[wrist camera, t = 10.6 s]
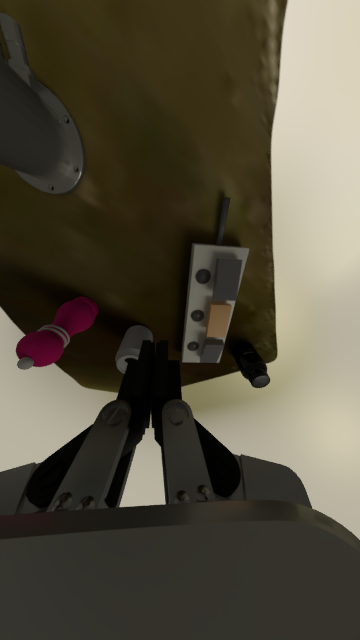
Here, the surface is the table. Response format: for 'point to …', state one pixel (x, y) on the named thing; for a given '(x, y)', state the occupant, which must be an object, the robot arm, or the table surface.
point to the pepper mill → (56, 333)
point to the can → (131, 345)
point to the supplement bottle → (251, 365)
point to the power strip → (206, 289)
